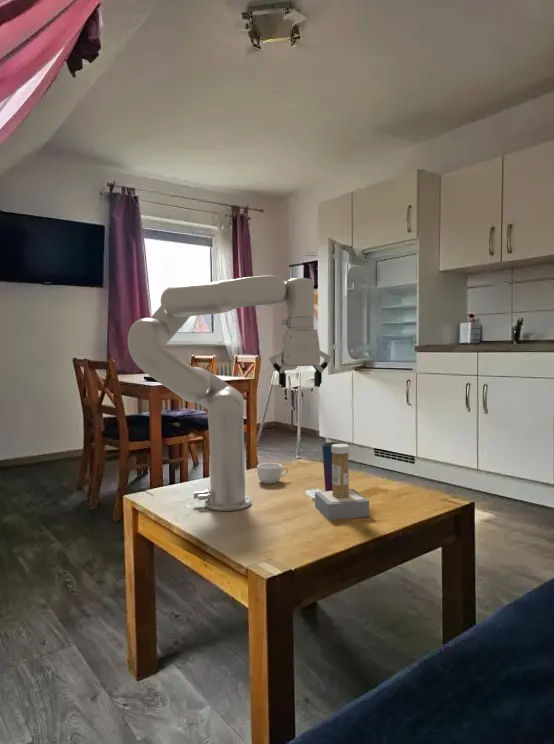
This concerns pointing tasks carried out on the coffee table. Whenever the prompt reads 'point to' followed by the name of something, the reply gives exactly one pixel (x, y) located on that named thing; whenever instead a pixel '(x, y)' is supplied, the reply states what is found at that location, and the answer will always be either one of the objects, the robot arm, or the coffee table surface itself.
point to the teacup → (270, 472)
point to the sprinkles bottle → (340, 470)
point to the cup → (328, 464)
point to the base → (342, 505)
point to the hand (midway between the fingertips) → (300, 387)
